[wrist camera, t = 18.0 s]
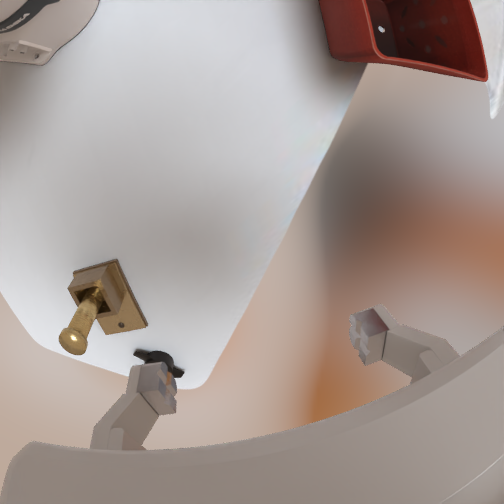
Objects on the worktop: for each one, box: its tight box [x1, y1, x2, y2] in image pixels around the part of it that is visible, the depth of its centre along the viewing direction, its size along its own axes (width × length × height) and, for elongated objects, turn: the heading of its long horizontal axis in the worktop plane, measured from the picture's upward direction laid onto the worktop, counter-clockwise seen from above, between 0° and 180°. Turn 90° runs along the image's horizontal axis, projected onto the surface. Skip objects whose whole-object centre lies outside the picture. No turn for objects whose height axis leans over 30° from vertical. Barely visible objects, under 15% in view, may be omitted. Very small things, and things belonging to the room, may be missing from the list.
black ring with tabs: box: [133, 351, 184, 378], centre depth 51 cm, size 8×10×3 cm
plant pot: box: [319, 0, 488, 82], centre depth 23 cm, size 19×19×17 cm
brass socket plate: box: [68, 259, 148, 335], centre depth 42 cm, size 9×14×6 cm, turn 11°
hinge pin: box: [59, 285, 104, 355], centre depth 35 cm, size 4×4×14 cm
